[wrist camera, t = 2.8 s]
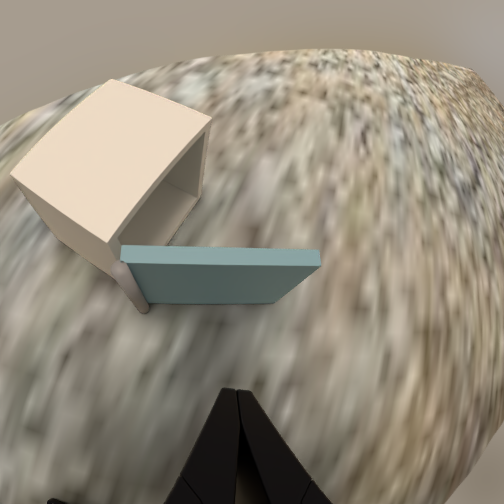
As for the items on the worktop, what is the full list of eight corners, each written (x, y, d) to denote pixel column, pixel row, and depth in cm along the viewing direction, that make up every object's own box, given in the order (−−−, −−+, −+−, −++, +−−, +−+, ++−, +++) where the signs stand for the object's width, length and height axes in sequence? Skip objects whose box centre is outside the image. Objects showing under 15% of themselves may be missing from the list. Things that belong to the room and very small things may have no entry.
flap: (137, 313, 19) (109, 278, 11) (138, 291, 19) (113, 244, 12) (274, 313, 21) (323, 280, 13) (272, 292, 21) (318, 249, 14)
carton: (136, 292, 19) (106, 242, 12) (56, 238, 19) (9, 173, 12) (200, 196, 23) (212, 117, 15) (123, 156, 23) (111, 78, 15)
